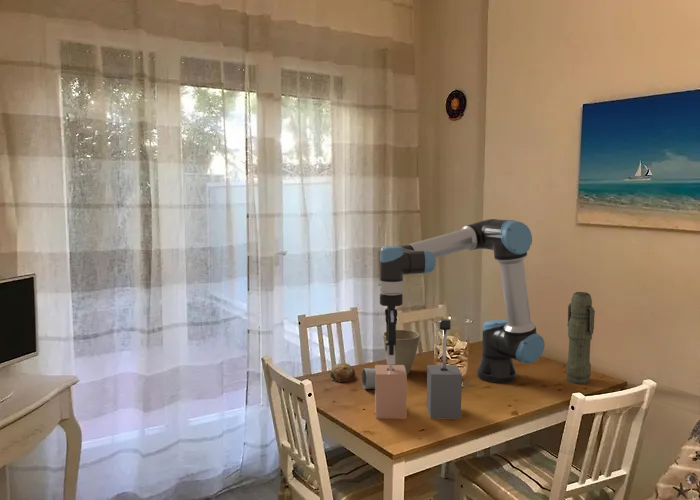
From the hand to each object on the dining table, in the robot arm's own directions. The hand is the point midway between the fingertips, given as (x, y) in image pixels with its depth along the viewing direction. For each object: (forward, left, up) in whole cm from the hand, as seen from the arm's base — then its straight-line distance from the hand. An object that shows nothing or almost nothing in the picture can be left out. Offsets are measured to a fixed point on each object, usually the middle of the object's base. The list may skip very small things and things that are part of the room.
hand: (390, 361), depth 194 cm
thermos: (-76, -33, -18) cm, 85 cm away
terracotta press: (0, -1, -18) cm, 18 cm away
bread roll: (+17, -35, -18) cm, 43 cm away
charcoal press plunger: (-18, 0, -8) cm, 20 cm away
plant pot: (-7, -43, -18) cm, 47 cm away
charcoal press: (-18, -1, -18) cm, 25 cm away
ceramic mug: (+5, -25, -18) cm, 32 cm away
